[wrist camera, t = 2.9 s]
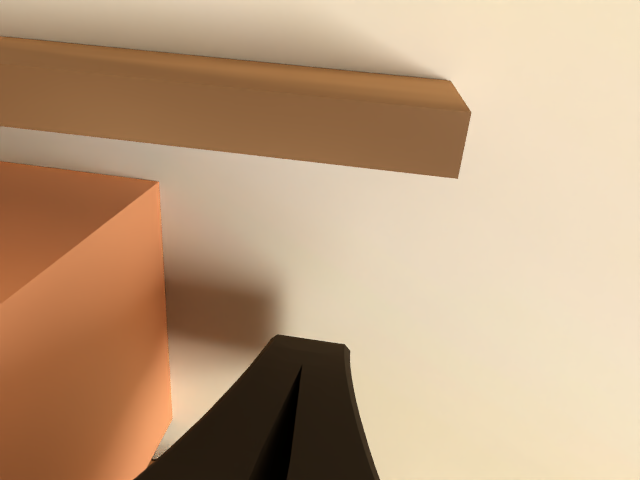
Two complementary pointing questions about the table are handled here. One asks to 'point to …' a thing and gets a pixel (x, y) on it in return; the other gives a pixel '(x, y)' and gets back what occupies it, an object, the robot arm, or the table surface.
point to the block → (81, 325)
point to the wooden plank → (234, 106)
